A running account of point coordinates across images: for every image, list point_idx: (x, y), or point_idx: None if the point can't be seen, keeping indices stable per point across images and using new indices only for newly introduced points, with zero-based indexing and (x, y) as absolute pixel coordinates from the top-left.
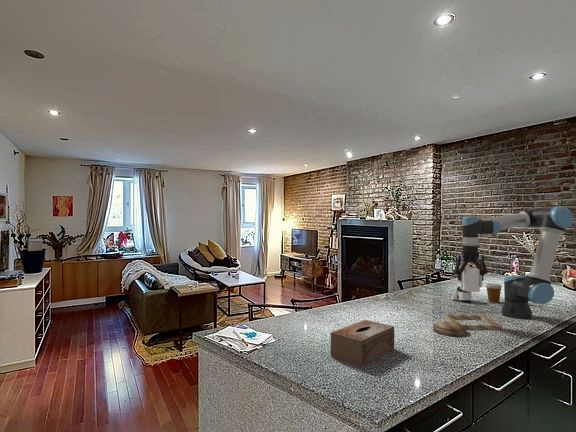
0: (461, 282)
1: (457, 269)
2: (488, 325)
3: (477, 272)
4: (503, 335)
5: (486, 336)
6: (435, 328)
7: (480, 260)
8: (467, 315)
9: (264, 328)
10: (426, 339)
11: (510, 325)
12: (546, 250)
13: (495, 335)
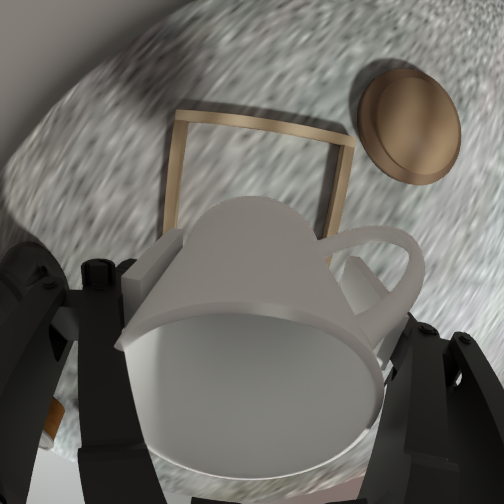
0: (375, 279)
1: (482, 366)
2: (237, 115)
3: (199, 273)
4: (233, 45)
5: (310, 45)
6: (460, 135)
7: (10, 486)
8: None
9: None
10: (494, 91)
11: (112, 165)
12: None
13: (265, 48)
